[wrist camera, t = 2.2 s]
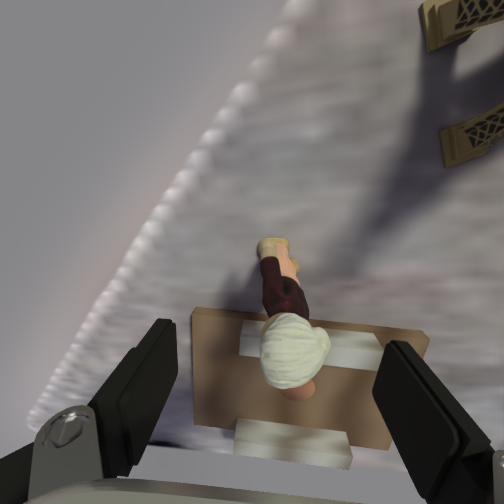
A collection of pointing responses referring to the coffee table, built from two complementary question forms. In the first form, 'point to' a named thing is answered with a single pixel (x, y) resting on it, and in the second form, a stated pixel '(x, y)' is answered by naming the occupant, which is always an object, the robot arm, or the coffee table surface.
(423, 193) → the coffee table surface
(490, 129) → the eiffel tower
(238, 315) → the board
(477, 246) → the coffee table surface
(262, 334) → the grandmother figurine
